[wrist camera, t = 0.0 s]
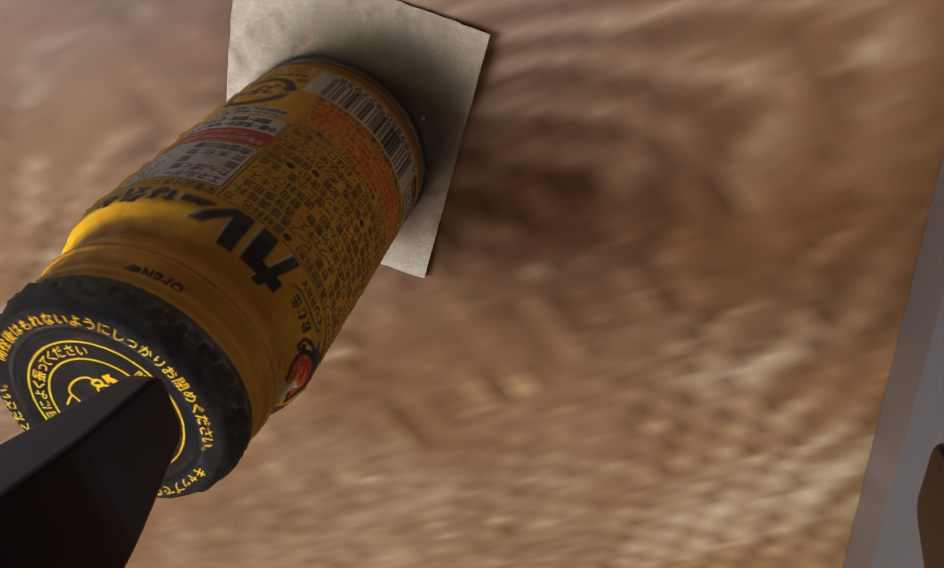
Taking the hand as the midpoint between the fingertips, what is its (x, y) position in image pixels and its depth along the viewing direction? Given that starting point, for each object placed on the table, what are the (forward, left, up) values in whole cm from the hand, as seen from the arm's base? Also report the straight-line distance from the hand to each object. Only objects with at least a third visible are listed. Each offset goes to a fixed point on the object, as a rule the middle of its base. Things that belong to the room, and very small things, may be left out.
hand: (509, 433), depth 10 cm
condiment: (-2, +8, -15) cm, 17 cm away
